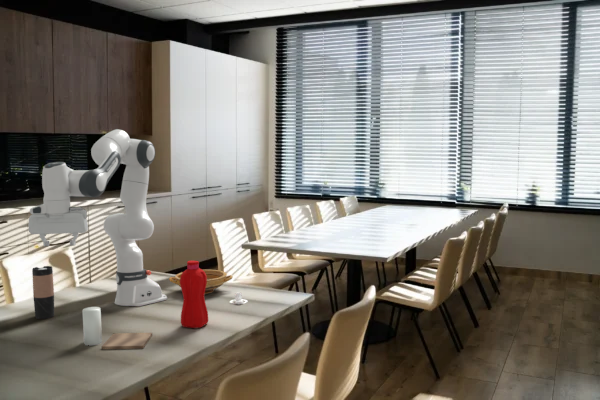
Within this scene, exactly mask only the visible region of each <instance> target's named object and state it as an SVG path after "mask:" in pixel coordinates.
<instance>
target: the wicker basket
mask: <svg viewBox="0 0 600 400" xmlns="http://www.w3.org/2000/svg"><path fill="white" fill-rule="evenodd" d="M202 270H203V271H204V272H205V274H206V276H207V284H206V288H205V293H204V295H208V294H211V293H213V292H214V290H216V289H218V288H220V287H221V286H223V285H224V284H225V283H228V282H229V281H231V280H232V279H233V275H228V274H227V272H225V271H222V270H216V269H202ZM181 274H182V272H179V273H177V274H175V275H174V276H171V277H169V278H168V279H169V282H171V283H173V284H175V285H177V286H178V287H179V288H181V286H180V277H181Z"/></svg>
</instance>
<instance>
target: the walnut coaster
mask: <svg viewBox="0 0 600 400" xmlns="http://www.w3.org/2000/svg"><path fill="white" fill-rule="evenodd" d="M152 337H153V332H123V333H122V332H121V333H118V332H117V333H115V332H114V333H113V334H111V336H109V338H108V339H107V340H106V341H105V342H104V343H103V345H101V350H133V349H134V350H135V349H136V350H139V349H141V350H142V349H144V348H145V346H146V345H147V344H148V342H149V341H150V339H151V338H152Z"/></svg>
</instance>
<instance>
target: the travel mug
mask: <svg viewBox="0 0 600 400" xmlns="http://www.w3.org/2000/svg"><path fill="white" fill-rule="evenodd" d="M31 270H32V273H31V275H32V292H33V294H32V295H33V305H34V306H33V307H34V315H35V316H34V317H35V318H36V319H37V320H38V319H39V320H45V319H49V318H53V317H54V316H55V289H54V275H53V274H54V273H53V272H54V271H53V270H54V269H53V267H52V266H51V265H49V266H48V265H44V266H43V267H38V266H36V267H33V268H32V269H31Z"/></svg>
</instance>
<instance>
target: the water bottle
mask: <svg viewBox="0 0 600 400" xmlns="http://www.w3.org/2000/svg"><path fill="white" fill-rule="evenodd" d="M186 264H187V265H186V268H187V269H185V270H184V271H181V273H182V274H181V277H180V286H181V287H180V286H179V287H180V290H181V292H182V296H183V302H182V307H181V312H180V324H181V326H182V327H183V328H188V329H189V328H191V329H200V328H203V327H204V326H205V325H207V324H208V322H209V313H208V308H207V304H206V300H205V294H204V293H205V288H206V284H207V276H206V274H205V272H204V271H203V270H204V269H202V268H200V267H199V265H200V262H199V261H198V260H188V261H187V262H186Z"/></svg>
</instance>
